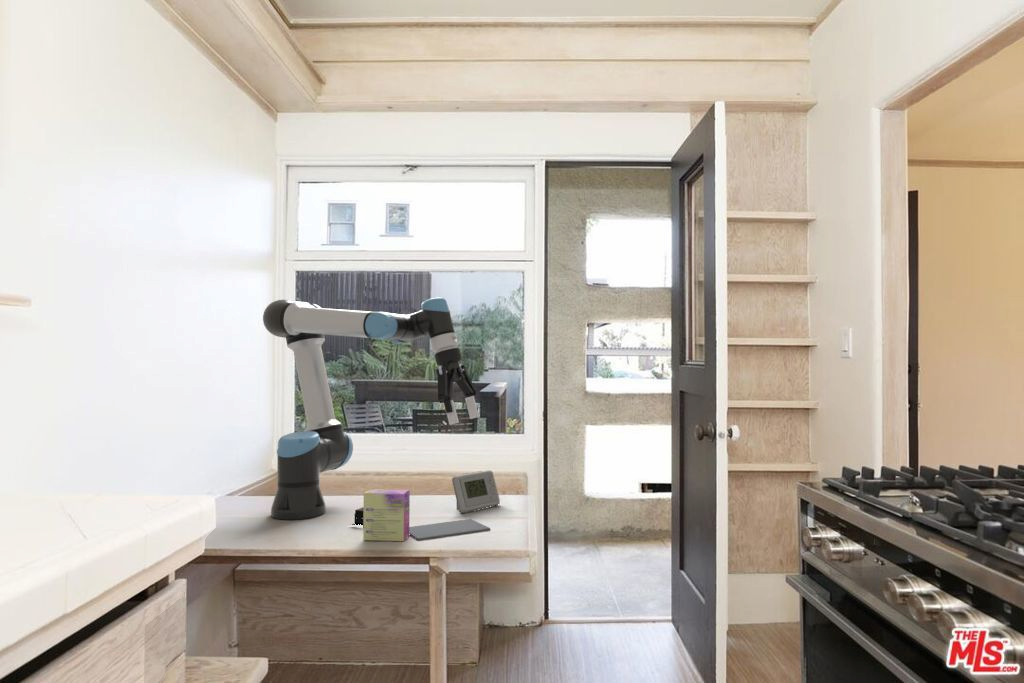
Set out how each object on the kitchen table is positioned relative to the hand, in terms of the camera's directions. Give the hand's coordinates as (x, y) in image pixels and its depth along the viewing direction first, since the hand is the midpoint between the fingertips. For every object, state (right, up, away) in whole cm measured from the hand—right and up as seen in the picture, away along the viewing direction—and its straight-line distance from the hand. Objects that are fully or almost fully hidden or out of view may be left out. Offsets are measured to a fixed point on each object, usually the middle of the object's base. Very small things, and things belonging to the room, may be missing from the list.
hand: (464, 421), depth 192 cm
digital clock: (+3, -28, +8) cm, 29 cm away
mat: (-4, -26, -18) cm, 32 cm away
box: (-18, -27, -25) cm, 41 cm away
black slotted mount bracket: (-27, -28, -10) cm, 40 cm away
